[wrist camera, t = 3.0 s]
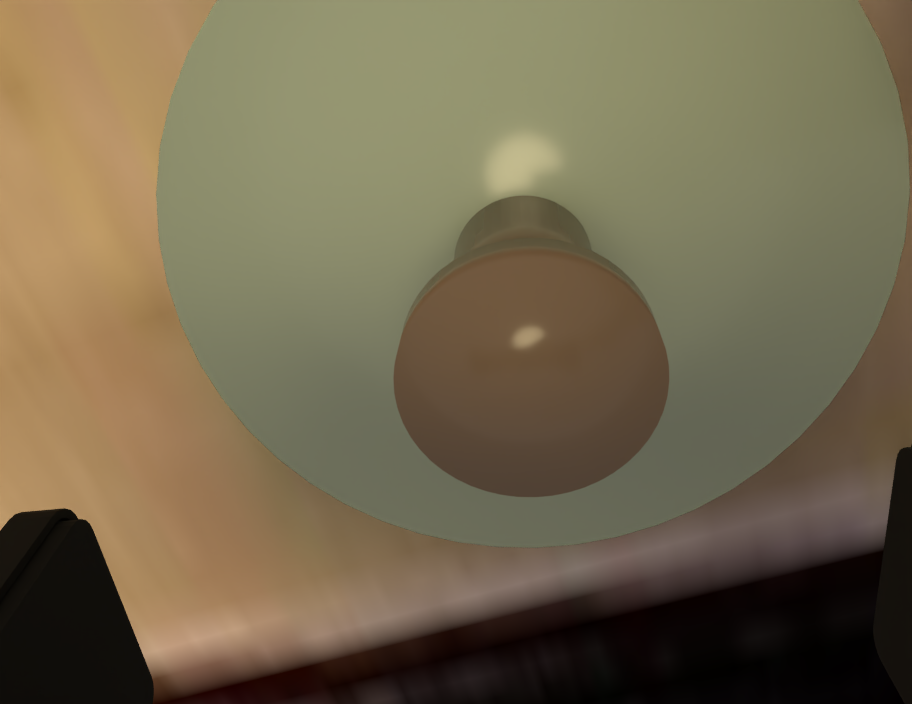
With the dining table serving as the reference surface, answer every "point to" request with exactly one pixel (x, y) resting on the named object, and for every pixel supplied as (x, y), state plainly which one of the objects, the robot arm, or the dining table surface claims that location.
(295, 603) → the dining table surface
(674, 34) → the lid
